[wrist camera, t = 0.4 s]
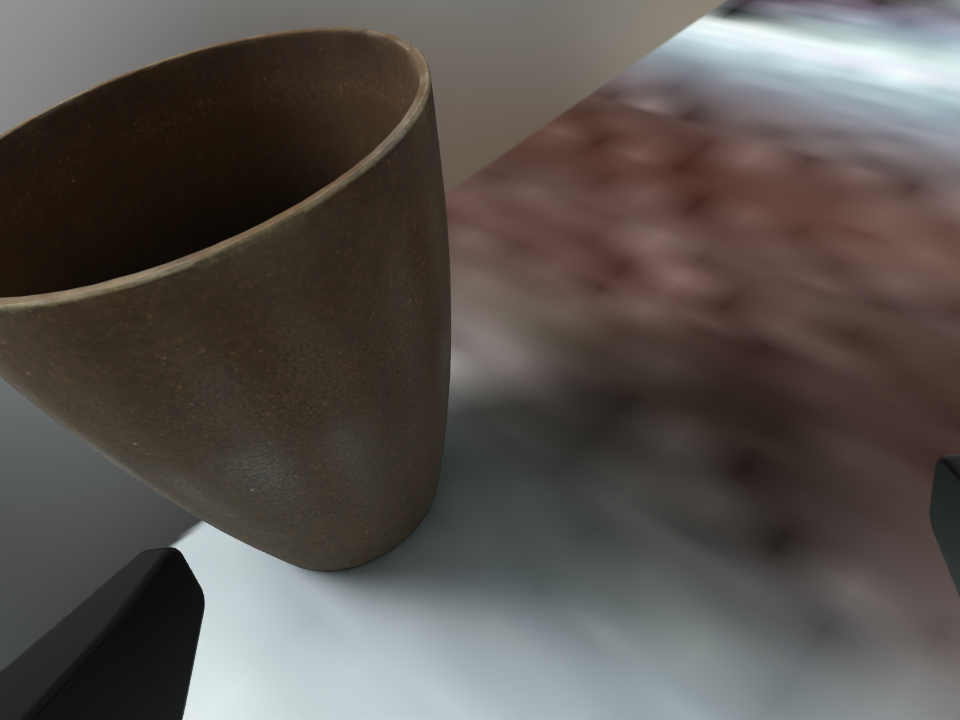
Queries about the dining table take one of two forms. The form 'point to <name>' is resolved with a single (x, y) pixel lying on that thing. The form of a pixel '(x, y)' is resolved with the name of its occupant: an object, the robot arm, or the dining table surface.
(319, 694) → the dining table surface
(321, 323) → the plant pot
